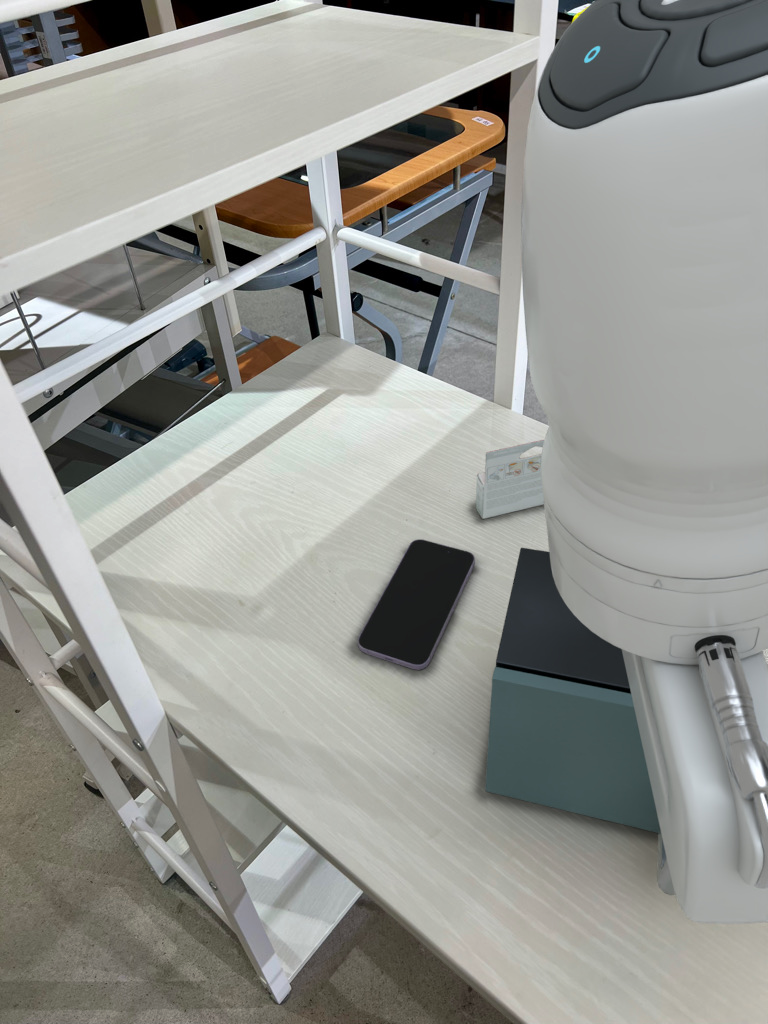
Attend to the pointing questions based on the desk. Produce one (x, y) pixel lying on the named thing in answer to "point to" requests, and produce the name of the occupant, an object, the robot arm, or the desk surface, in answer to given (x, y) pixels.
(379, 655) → the smartphone
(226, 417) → the desk surface
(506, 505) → the ink box
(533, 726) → the door
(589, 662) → the black cabinet
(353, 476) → the desk surface
